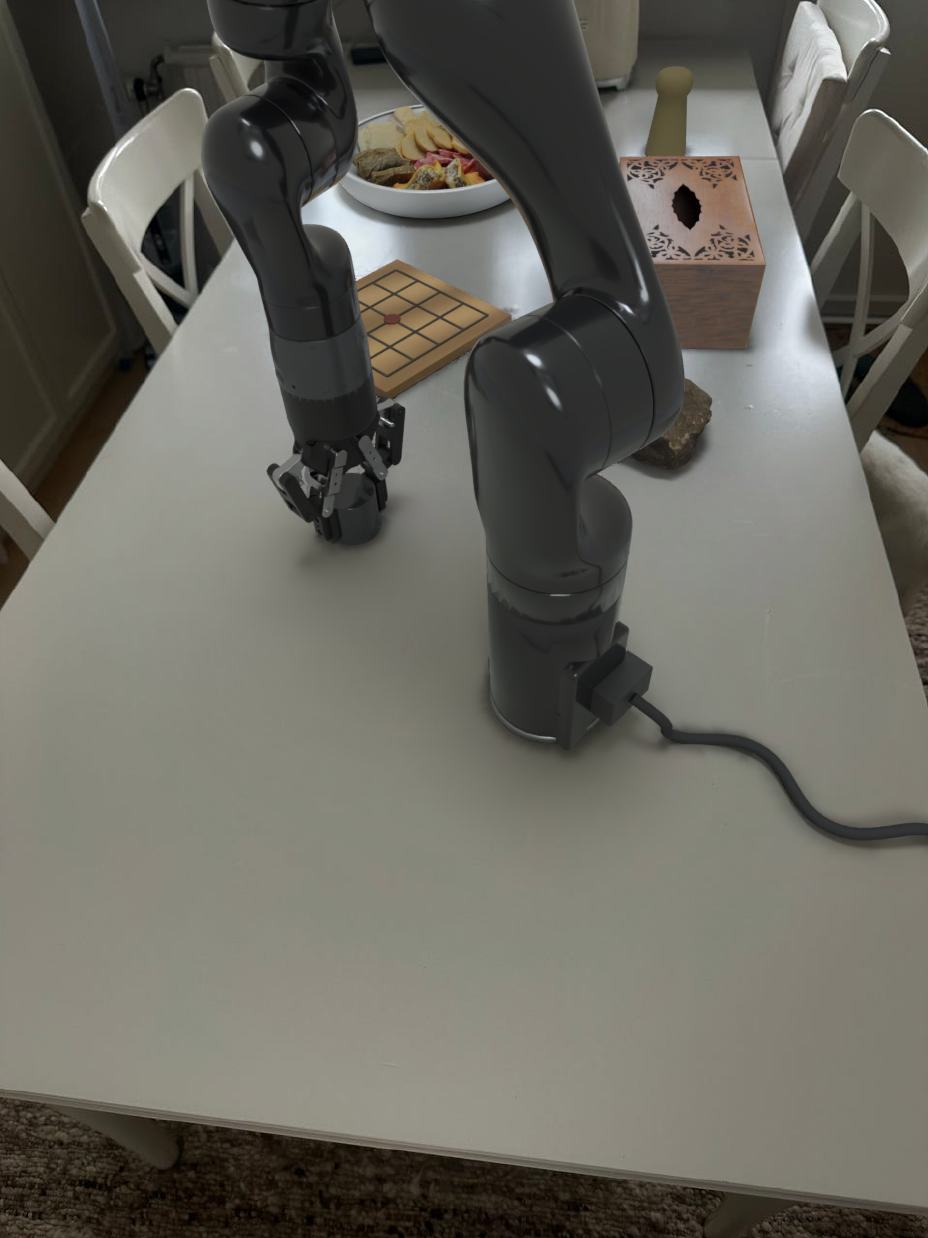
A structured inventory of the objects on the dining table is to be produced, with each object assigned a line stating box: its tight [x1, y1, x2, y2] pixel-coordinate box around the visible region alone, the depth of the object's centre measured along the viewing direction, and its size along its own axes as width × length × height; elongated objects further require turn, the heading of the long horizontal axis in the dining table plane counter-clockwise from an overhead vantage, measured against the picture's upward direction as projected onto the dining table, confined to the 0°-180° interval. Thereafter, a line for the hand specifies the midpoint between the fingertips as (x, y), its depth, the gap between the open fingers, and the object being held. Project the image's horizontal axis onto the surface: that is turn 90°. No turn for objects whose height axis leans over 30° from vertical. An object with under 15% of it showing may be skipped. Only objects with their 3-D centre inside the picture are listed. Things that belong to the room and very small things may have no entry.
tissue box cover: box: [618, 155, 767, 350], centre depth 102 cm, size 26×14×10 cm, turn 175°
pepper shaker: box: [644, 65, 694, 157], centre depth 125 cm, size 6×6×11 cm
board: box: [356, 258, 513, 400], centre depth 102 cm, size 20×20×1 cm
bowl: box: [339, 103, 511, 219], centre depth 124 cm, size 30×30×8 cm
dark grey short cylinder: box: [333, 472, 382, 546], centre depth 80 cm, size 5×5×4 cm
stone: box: [630, 377, 713, 470], centre depth 86 cm, size 10×14×6 cm
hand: (354, 520), depth 81 cm, fingers closed on dark grey short cylinder, 5 cm apart
